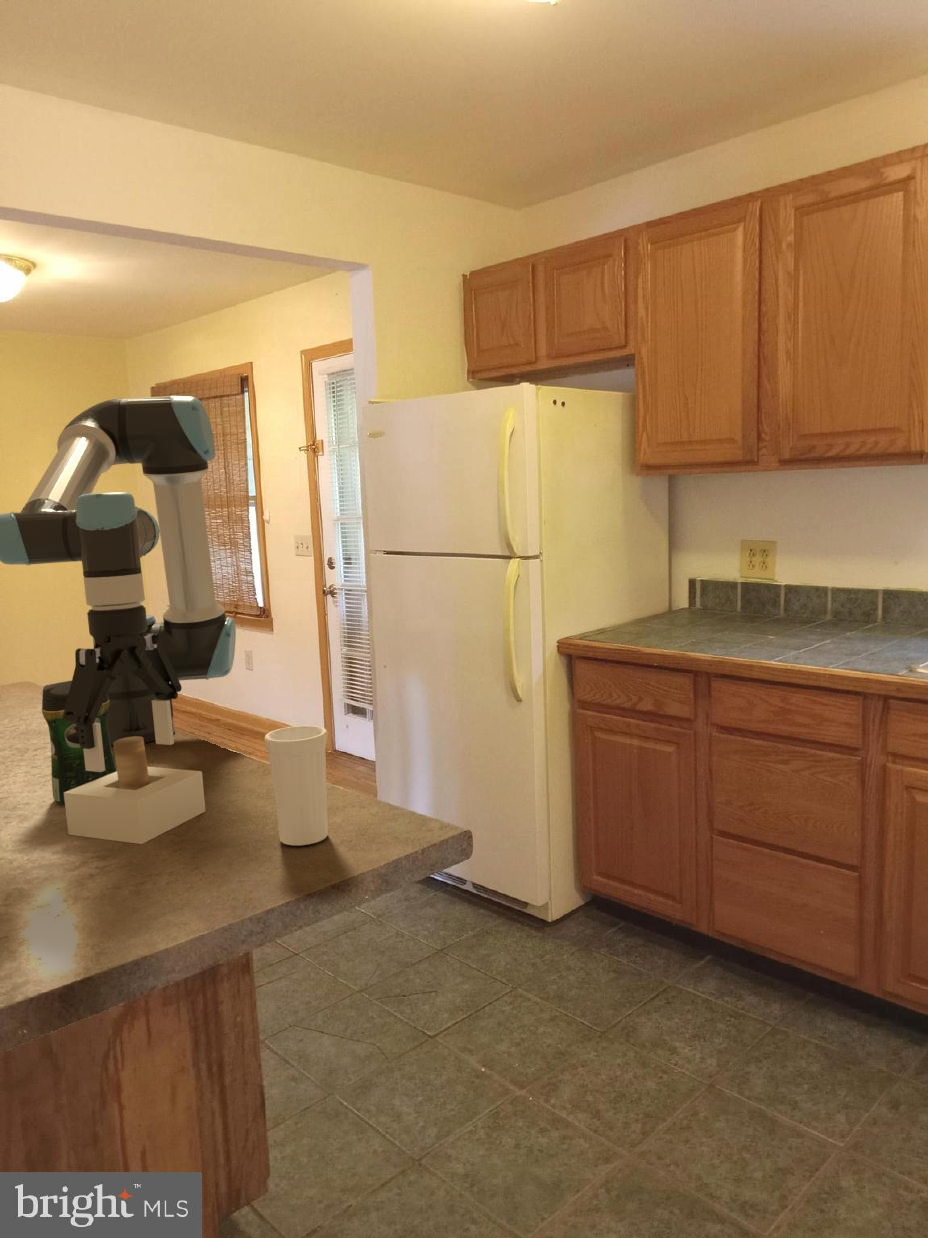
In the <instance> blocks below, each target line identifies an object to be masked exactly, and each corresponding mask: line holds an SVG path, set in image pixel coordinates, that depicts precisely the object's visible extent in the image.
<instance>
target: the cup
mask: <svg viewBox="0 0 928 1238" xmlns="http://www.w3.org/2000/svg"><path fill="white" fill-rule="evenodd" d="M264 742H265V744H264V745H265V748H266V750H267V752H268V753H267V754H268V759H269V767H270V775H271V783H272V791H273V797H274V803H275V804H274V805H275V812H276V820H277V827H278V834H279V840H280V841H279V842H281V843H282V844H285V845H289V846H306V845H311V844H316V843H319V842H321V841H323V840H325V839H326V838H327V837H328V836H329V830H328V829H329V828H328V826H329V824H328V799H327V798H328V797H327V796H328V795H327V763H326V762H327V761H326V756H327V755H326V745H327V743H328V731H327V729H326V728H324V727H322V726H317V725H297V726H295V725H294V726H288V727H282V728H278V729H275V730H271V731H270V732H268V733H266V734H265V736H264Z"/></svg>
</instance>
